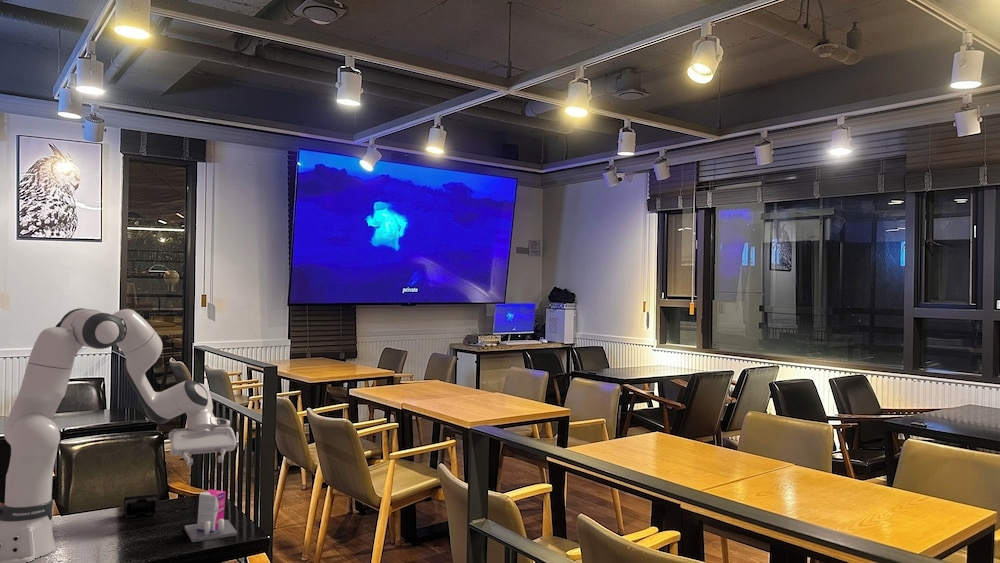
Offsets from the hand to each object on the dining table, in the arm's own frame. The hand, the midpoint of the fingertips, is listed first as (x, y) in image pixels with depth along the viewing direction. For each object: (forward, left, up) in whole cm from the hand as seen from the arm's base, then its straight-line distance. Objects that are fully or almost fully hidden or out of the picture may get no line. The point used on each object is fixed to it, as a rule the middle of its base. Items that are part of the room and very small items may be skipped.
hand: (205, 463), depth 231 cm
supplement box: (0, -12, -18) cm, 21 cm away
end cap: (-17, +13, -19) cm, 29 cm away
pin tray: (0, -12, -19) cm, 22 cm away
